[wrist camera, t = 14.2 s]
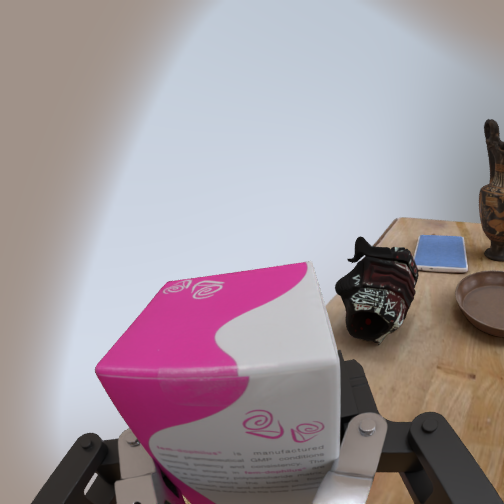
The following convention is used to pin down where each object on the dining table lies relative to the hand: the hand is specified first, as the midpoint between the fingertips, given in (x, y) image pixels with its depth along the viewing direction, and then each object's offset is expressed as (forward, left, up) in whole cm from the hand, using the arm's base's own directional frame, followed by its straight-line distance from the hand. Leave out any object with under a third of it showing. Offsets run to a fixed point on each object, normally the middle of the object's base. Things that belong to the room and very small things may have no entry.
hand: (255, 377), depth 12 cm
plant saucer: (+37, +16, -18) cm, 44 cm away
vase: (+55, +33, -18) cm, 67 cm away
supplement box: (0, -3, -7) cm, 7 cm away
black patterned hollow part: (+17, +22, -18) cm, 33 cm away
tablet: (+42, +41, -18) cm, 62 cm away
